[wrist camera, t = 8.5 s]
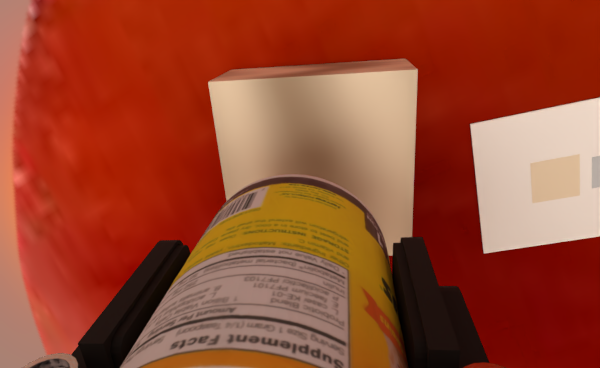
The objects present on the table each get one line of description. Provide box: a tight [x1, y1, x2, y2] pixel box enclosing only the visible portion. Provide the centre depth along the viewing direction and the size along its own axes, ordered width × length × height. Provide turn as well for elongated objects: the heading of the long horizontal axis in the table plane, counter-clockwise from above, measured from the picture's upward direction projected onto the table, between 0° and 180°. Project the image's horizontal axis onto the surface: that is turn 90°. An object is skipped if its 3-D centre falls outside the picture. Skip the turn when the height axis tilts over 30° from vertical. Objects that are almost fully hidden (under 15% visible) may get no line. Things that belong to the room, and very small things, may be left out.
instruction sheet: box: [470, 97, 600, 253], centre depth 22 cm, size 11×8×1 cm
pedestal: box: [208, 59, 418, 256], centre depth 21 cm, size 9×9×4 cm
